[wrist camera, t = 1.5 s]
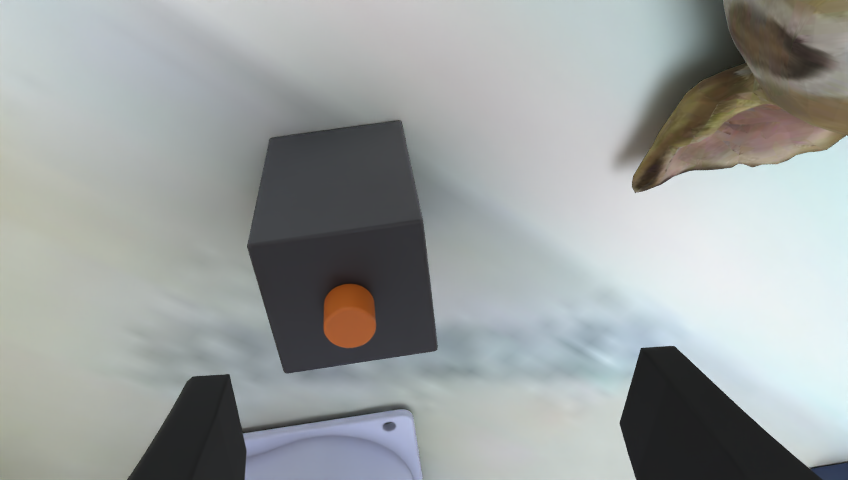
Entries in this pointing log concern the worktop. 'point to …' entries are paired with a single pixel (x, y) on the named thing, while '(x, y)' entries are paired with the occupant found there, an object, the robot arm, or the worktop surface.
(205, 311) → the worktop surface
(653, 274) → the worktop surface
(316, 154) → the grey block with knob
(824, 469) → the dock
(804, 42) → the ceramic sculpture
